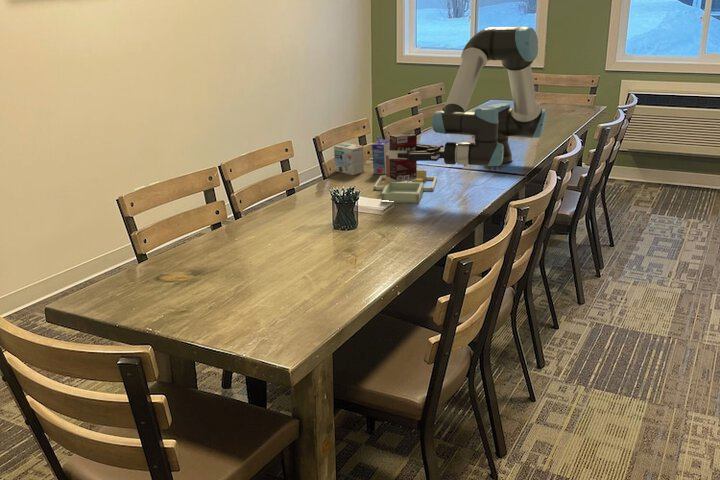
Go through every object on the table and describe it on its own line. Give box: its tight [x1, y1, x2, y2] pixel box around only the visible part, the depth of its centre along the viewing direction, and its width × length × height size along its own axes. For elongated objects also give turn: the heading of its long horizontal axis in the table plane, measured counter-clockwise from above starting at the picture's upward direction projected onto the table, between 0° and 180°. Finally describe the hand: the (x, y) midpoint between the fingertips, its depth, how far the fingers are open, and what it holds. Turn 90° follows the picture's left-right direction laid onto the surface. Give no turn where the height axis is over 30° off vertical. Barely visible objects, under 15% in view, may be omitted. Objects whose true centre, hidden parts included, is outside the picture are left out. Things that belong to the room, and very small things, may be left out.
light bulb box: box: [333, 142, 365, 176], centre depth 277 cm, size 11×7×11 cm, turn 47°
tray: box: [380, 181, 424, 204], centre depth 242 cm, size 13×15×3 cm
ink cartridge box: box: [371, 134, 390, 175], centre depth 275 cm, size 10×6×14 cm, turn 161°
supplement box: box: [389, 132, 418, 183], centre depth 237 cm, size 9×5×16 cm, turn 118°
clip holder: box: [373, 169, 438, 192], centre depth 257 cm, size 22×16×4 cm
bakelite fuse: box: [385, 151, 390, 177], centre depth 256 cm, size 4×6×12 cm, turn 169°
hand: (392, 151), depth 238 cm, fingers closed on supplement box, 9 cm apart
